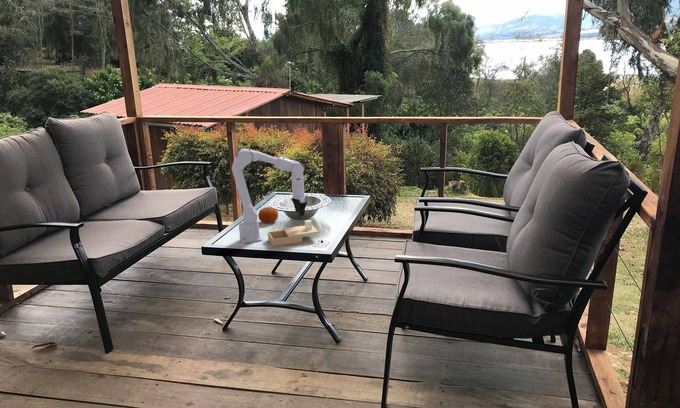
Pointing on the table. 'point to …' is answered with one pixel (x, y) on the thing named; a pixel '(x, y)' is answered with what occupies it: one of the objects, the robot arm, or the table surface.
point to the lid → (301, 229)
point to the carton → (283, 239)
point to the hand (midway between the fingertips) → (299, 213)
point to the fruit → (268, 215)
